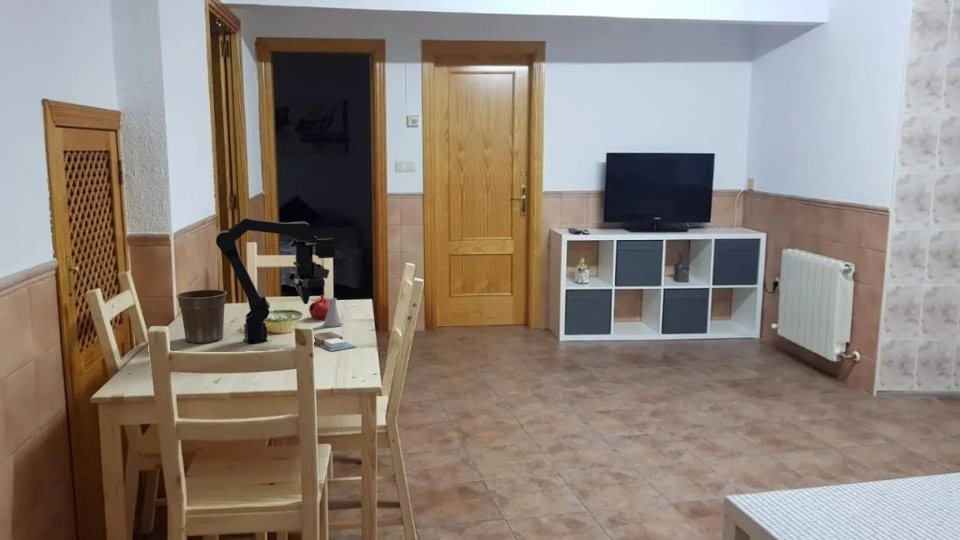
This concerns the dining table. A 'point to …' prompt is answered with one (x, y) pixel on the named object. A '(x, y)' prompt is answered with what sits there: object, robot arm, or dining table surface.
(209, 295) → the plant pot
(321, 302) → the pomegranate
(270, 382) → the dining table surface
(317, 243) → the robot arm
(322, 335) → the deck
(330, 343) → the white flat block
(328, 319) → the flask
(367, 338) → the dining table surface
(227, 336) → the dining table surface
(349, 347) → the mat
